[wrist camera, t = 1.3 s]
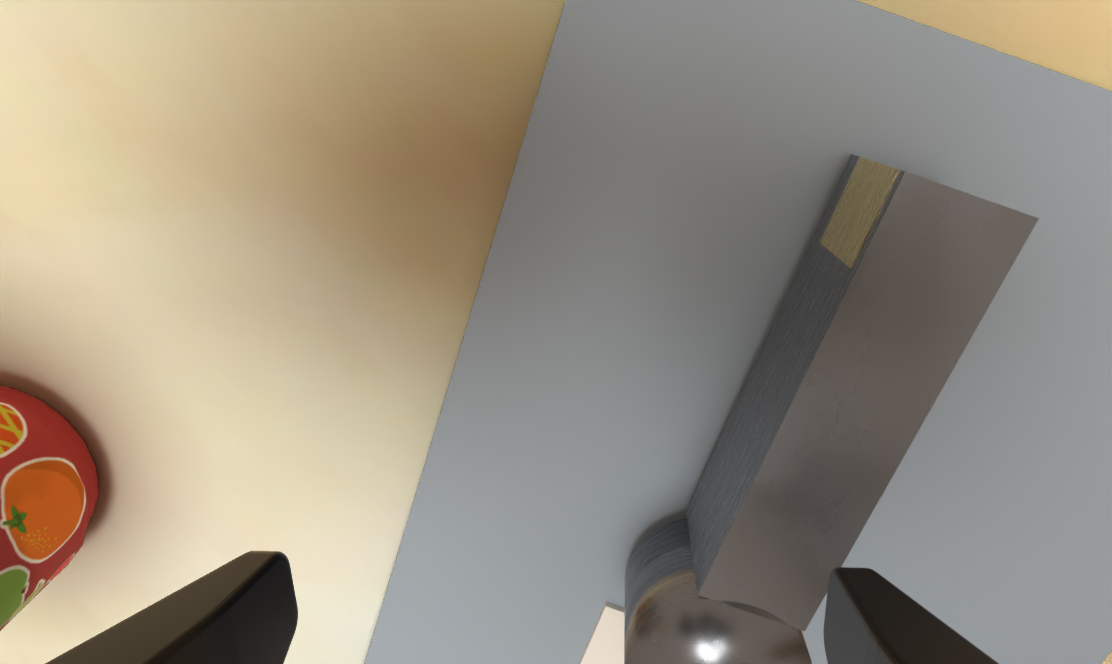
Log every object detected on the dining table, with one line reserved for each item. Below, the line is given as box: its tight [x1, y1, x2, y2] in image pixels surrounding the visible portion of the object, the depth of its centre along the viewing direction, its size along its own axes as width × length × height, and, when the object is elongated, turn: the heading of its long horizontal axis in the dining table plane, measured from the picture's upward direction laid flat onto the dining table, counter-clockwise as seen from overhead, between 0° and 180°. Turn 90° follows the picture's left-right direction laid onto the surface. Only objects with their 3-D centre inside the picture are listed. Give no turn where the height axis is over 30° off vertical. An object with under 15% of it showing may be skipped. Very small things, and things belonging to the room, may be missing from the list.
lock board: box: [364, 0, 1112, 664], centre depth 21 cm, size 20×30×1 cm, turn 162°
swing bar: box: [624, 154, 1039, 664], centre depth 17 cm, size 14×4×3 cm, turn 161°
